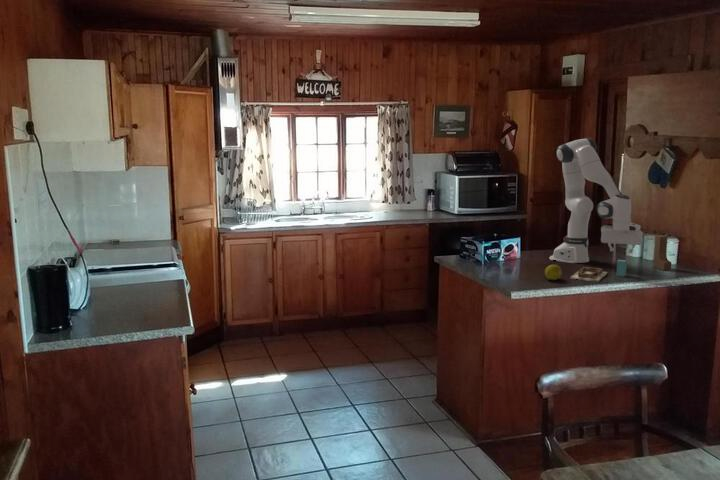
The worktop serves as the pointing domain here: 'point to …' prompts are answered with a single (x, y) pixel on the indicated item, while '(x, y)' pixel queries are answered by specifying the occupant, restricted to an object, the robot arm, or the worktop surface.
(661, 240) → the wooden block
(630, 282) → the worktop surface
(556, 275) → the lemon
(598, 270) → the keyhole guide
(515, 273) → the worktop surface
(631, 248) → the robot arm
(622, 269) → the teal peg
